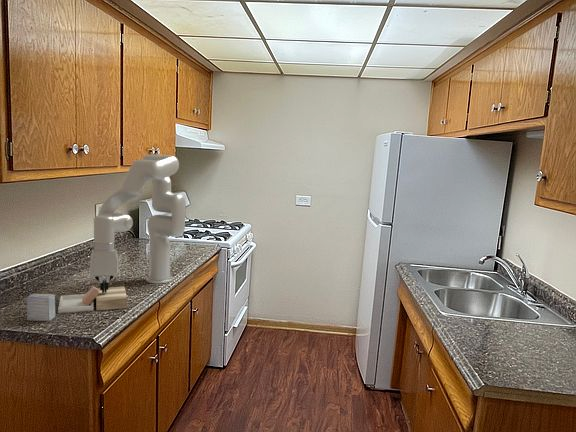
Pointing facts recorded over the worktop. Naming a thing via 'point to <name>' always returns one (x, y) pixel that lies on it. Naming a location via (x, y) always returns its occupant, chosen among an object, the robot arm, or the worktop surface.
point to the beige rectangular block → (111, 299)
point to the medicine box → (41, 307)
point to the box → (74, 304)
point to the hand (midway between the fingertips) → (104, 291)
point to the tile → (90, 295)
